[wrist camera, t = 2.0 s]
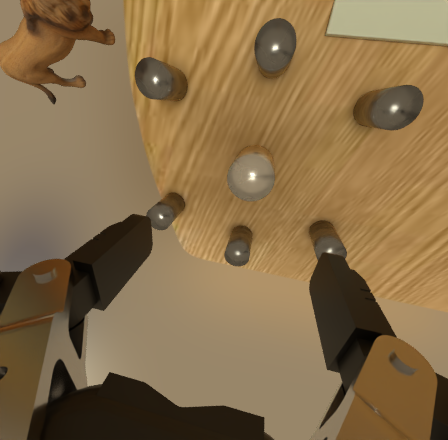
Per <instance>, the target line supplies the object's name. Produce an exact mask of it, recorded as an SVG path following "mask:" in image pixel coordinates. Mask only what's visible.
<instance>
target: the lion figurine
mask: <svg viewBox="0 0 448 440" xmlns="http://www.w3.org/2000/svg"><path fill="white" fill-rule="evenodd" d="M20 2H21V7H22V10H23V13H24V18H23V19H22V21H21V23H20V25H19V28H18V30H17V32H16V34H15V35H14V36H13V37H12V38H10V39H8V40H7V41H4V42H2V43H1V44H0V66H1V68H2V70H3V71H4V72H5V73H6V74H7V75H8V76H10V77H12V78H14V79H16V80H18V81H21V82H24V83H27V84H30V85H32V86H35V87H37V88H39V89H41V90H42V91H44V92H45V93H46V94H47V95H48V98H49V99H50V100H51V102H52V103H53V104H55V102H56V98H55V96H54V95H53V94H52V92H51V91H49V90H48V89H47V88H45V87H44V86H42V85H41V84H46V83H53V84H54V83H55V84H59V85H61V86H72V87H80V88H83V87H85V86H86V82H85V80H84V79H83V77H82V76H79V75H78V76H75V77H74V78H72V79H64V78H61V77H59V76H58V75H56V74H55V73H54V71H53V70H52V69H50V68H47V67H48V66H49V65H51V64H53V63H56V62H58V61H60V60H62V59H64V58H65V57H66V56H67V55H68V54H69V53H70V51H71V50H72V48H73V45H74V43H75V40H76V39H78V40H89V41H95V42H99V43H102V44H106V45H113V44H114V43H115V36H114V34H113V33H112V32H111V31H110V30H109V29H106V30H105V31H103V30H99V31H98V30H97V29H96V28H94V27H93V26H91V24H92V22H93V15H92V13H91V11H90V0H20Z"/></svg>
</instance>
